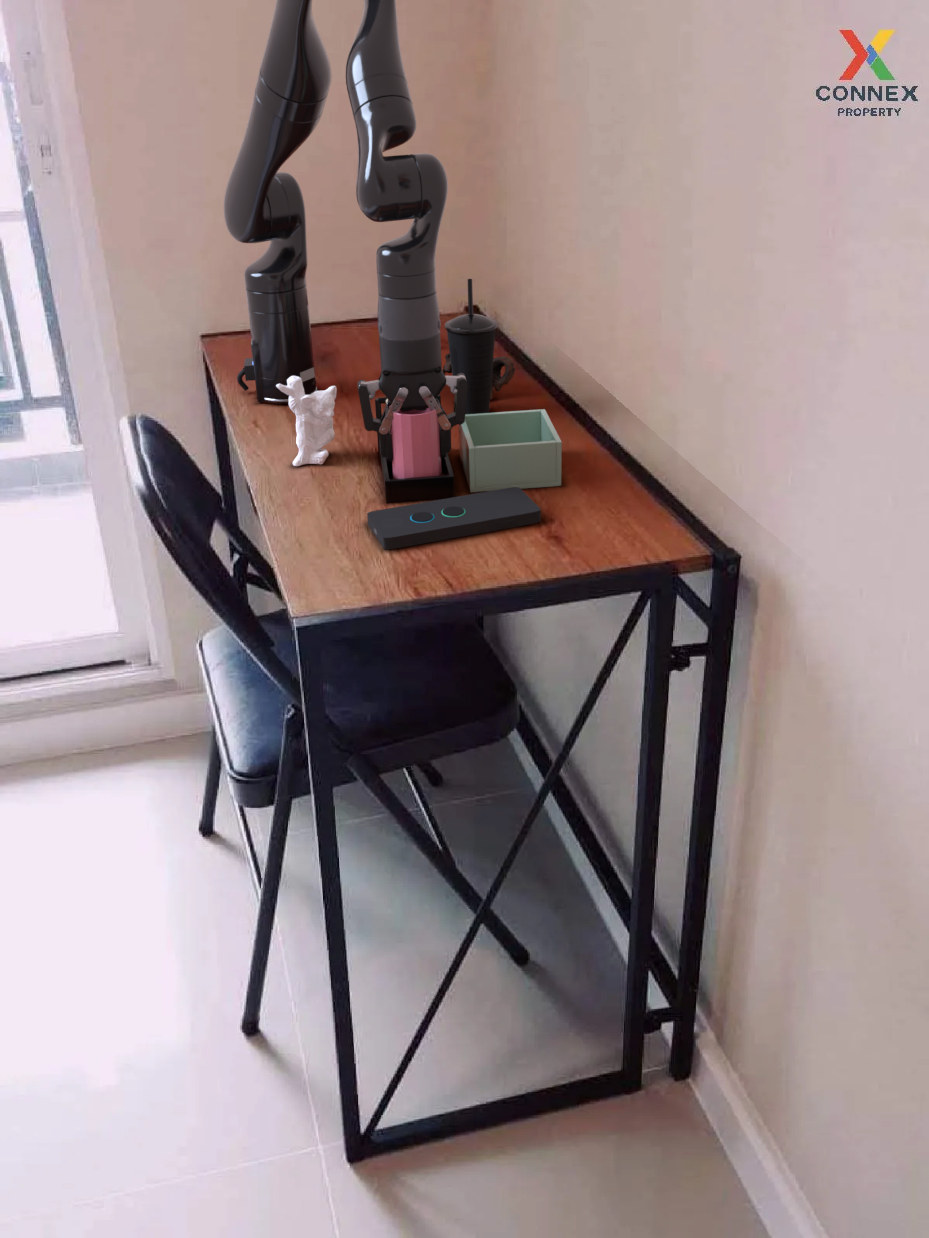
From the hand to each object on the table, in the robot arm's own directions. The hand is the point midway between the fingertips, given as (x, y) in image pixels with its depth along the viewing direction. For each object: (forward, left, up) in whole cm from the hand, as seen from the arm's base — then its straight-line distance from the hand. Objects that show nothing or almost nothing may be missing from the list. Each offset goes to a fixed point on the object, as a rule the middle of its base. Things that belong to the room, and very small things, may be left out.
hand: (416, 456), depth 152 cm
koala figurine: (-13, +12, -4) cm, 19 cm away
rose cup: (0, 0, -4) cm, 4 cm away
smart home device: (+4, -12, -4) cm, 13 cm away
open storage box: (+13, +3, -4) cm, 14 cm away
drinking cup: (+11, +26, -4) cm, 28 cm away
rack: (0, +4, -4) cm, 6 cm away
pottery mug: (+13, +35, -4) cm, 38 cm away
